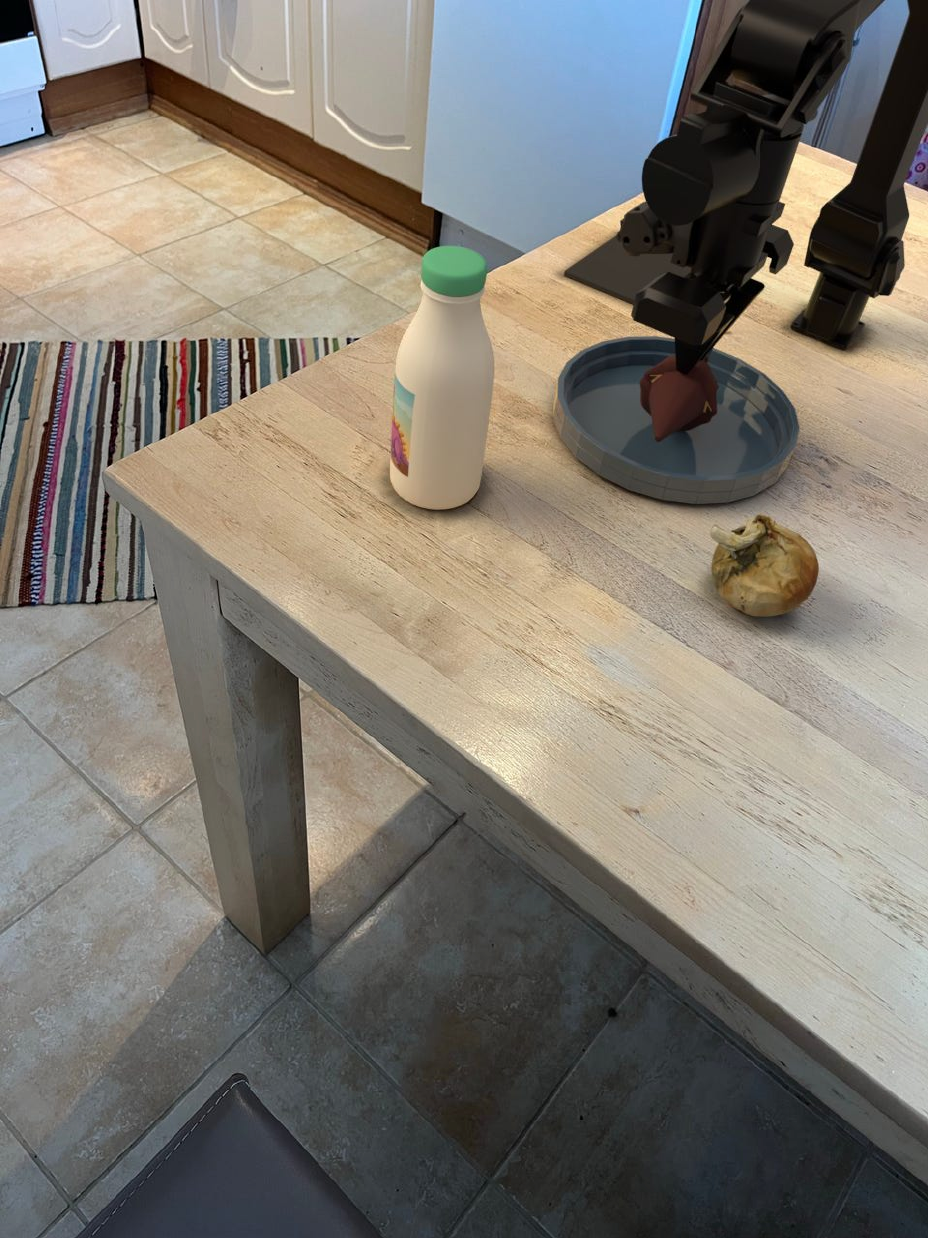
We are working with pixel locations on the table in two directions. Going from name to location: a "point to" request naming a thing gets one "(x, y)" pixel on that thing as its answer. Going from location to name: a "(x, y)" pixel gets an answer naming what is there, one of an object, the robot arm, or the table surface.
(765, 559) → the onion
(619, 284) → the plate
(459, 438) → the milk bottle
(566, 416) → the bowl
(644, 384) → the dark red teardrop piece
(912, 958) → the table surface
